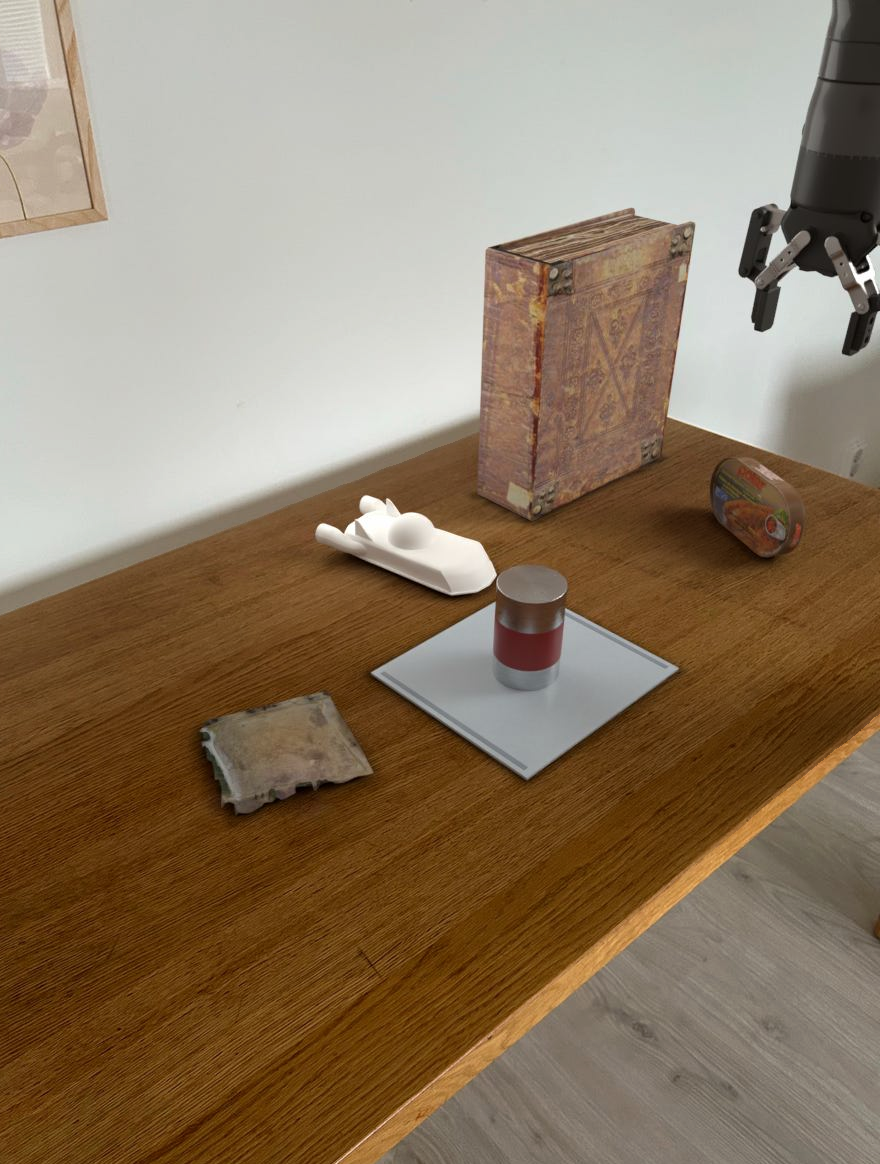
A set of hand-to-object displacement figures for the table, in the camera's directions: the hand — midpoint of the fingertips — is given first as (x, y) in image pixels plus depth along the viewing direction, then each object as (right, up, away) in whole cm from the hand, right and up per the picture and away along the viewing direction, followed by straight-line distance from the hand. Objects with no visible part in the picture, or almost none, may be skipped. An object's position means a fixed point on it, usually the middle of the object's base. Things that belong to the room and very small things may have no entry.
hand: (805, 341), depth 91 cm
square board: (-24, -30, +7) cm, 39 cm away
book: (-14, -6, +40) cm, 43 cm away
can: (-24, -30, +7) cm, 39 cm away
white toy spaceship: (-35, -18, +24) cm, 46 cm away
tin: (+4, -15, +27) cm, 32 cm away
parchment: (-47, -37, -1) cm, 59 cm away
